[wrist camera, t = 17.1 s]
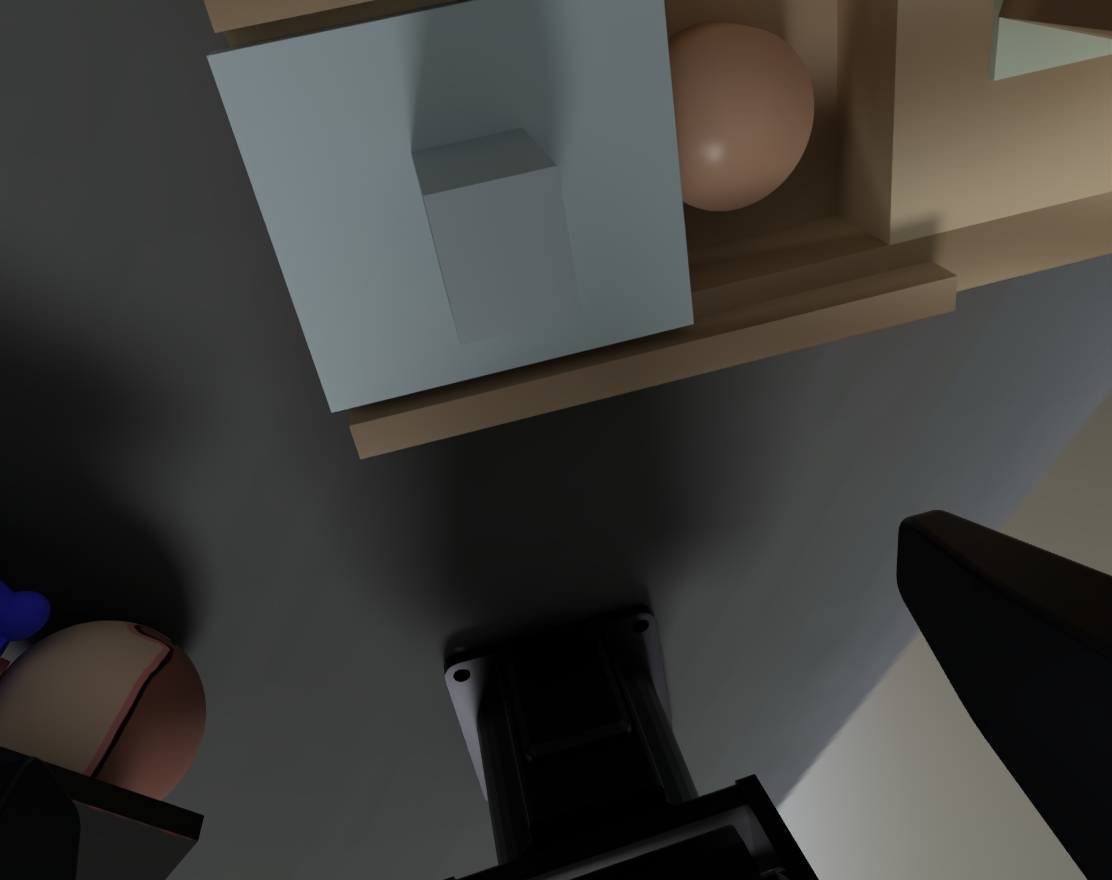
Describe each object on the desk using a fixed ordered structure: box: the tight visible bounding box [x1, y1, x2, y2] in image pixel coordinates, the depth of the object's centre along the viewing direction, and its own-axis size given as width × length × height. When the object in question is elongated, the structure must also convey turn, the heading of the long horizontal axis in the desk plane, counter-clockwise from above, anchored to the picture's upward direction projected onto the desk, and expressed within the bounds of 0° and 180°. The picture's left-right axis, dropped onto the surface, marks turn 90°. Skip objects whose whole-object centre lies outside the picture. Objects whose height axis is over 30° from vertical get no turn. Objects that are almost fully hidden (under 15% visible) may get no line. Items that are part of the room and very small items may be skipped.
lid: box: [207, 0, 694, 413], centre depth 15 cm, size 7×8×4 cm
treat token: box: [668, 21, 814, 211], centre depth 19 cm, size 4×4×1 cm
